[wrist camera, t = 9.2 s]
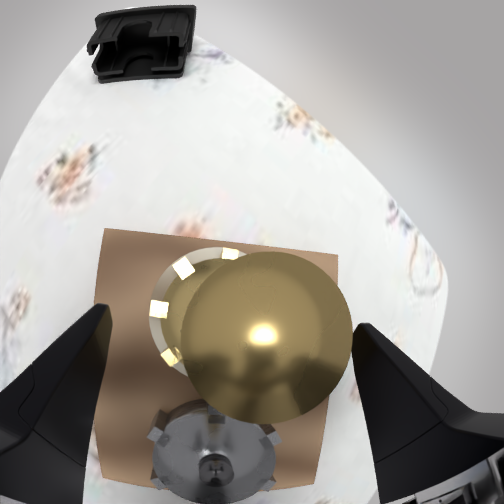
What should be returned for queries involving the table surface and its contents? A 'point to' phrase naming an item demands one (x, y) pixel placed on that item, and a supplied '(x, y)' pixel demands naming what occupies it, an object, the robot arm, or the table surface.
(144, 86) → the table surface
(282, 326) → the gear
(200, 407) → the sun gear
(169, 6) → the end cap
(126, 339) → the carrier board
